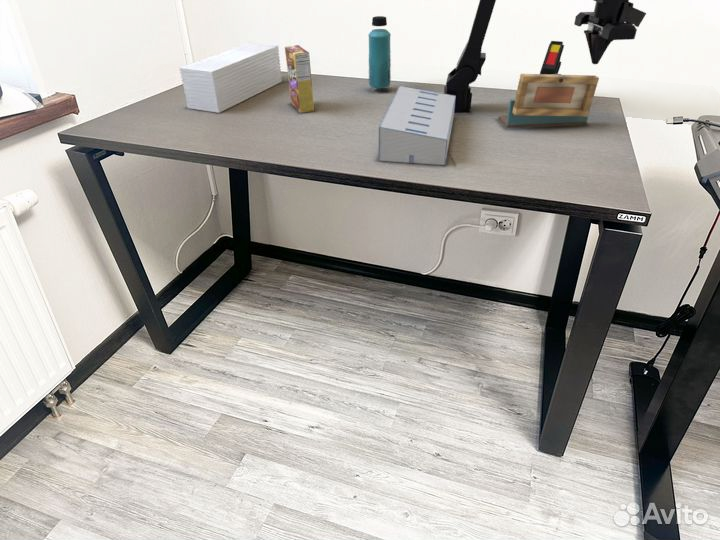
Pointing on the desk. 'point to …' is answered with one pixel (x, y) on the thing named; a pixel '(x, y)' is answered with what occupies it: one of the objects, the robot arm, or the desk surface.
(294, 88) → the candy box
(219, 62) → the stack of papers
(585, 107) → the picture frame
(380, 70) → the beverage bottle
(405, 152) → the warehouse
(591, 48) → the robot arm
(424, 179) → the desk surface
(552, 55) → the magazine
